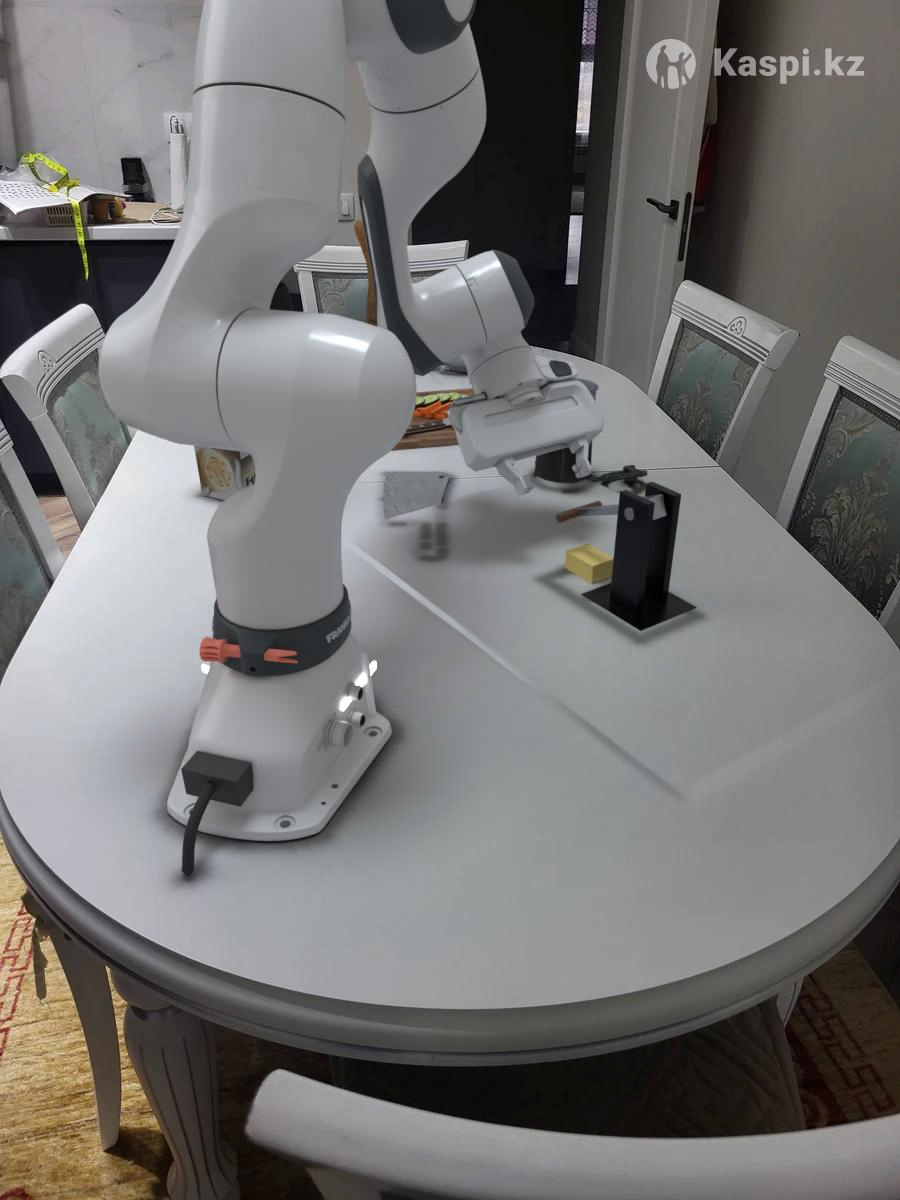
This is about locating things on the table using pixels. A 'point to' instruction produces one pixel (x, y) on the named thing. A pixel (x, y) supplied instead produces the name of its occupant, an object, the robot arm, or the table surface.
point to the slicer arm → (609, 509)
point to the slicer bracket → (643, 562)
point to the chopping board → (432, 420)
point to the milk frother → (561, 461)
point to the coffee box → (223, 471)
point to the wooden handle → (371, 304)
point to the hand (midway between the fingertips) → (556, 483)
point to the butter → (589, 563)
